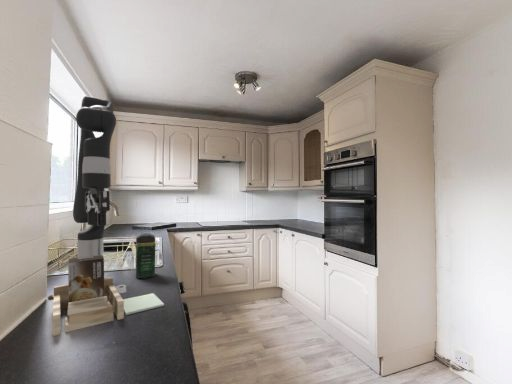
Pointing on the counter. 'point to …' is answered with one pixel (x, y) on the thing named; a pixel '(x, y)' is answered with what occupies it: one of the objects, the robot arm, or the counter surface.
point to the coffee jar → (145, 255)
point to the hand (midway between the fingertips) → (96, 225)
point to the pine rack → (63, 300)
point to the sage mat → (141, 303)
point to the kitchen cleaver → (119, 288)
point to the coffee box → (85, 278)
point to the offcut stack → (88, 313)
